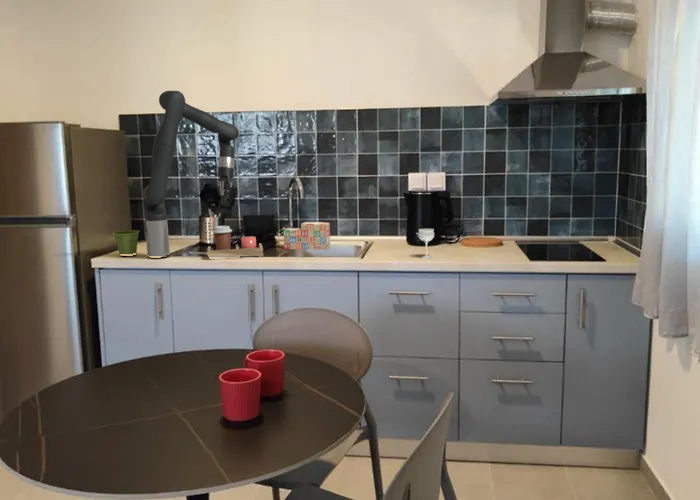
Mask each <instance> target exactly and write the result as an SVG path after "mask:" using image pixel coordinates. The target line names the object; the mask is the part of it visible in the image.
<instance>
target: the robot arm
mask: <svg viewBox="0 0 700 500" xmlns="http://www.w3.org/2000/svg"><path fill="white" fill-rule="evenodd" d="M158 103H159V106H160V107H161V108H162V109H163V110H164V117H163V121H162V124H161V126H160V127H159V129H158V131H157V133H156V135H155V138H154V142H153V146H152V151H151V173H150V178H149V182H148V185H146V186H145V188H143V192H142V197H143V198H142V199H143V207H144V208H143V210H144V211H143V212H144V214H145V215H144V216H145V223H146V224H145V226H146V234H147V235H146V237H145V240H146V251H147V256H148V255H149V256H166V255H170V256H171V253H170V251H171V250H170V237H169V227H168V214H167V209H166V202H165V201H166V197H167V192H168V179H169V174H170V170H171V168H172V165H173V164H172V163H173V159H174V155H175V150H176V144H177V139H178V134H179V128H180V124H181V119H182V118H185V119H187V120H189V121H190V122H192V123H194V124H195V125H198V126H199V127H201V128H203V129H204V130H206V131H208V132H210V133H212V134H217V141H218V146H219V157H218V161H217V162H218V164H217V165H218V166H217V177H218V178H219V182H218V183H219V184H217V185H216V190H217V193H218V195H219V196H221V198H220V199H221V200H220V204H222V205H227V202H228V197H229V195H231V192H232V190H233V187H234V185H235V184H234V182H233V183H232V179H233V178H235V177H234V176H235V153H236V152H235V151H236V150H235V147H234V146H232V144H231V141H234V140H236V139H238V138H239V134H240V132H239V130H238V128H237V127H236V125H234V124H233V123H229V122H227V121H224V120H221V119H219V118H217V117H215V116H214V115H212V114H211V113H208V112H206V111H205V110H201V109H199V108H197V107H195V106H193V105H190V104H188V103H187V102H186V98H185V95H184V94H183V93H182V92H181V91H179V90H166V91H163V92H162V93H161V94H160V95H159V97H158Z"/></svg>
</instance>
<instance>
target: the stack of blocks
mask: <svg viewBox="0 0 700 500" xmlns="http://www.w3.org/2000/svg"><path fill="white" fill-rule="evenodd" d="M330 225H331V224H330V222H322V221H316V222H315V221H314V222H312V221H311V222H308V221H305V222H303V223H301V224H300V228H299V227H298V228H297V227H296V228H295V227H291V228H290V227H287V228H285V229H283V230H282V233H283V234H282V235H283V249H285V250H313V251H314V250H315V251H316V250H317V251H318V250H319V251H321V250H322V251H323V250H325V251H327V250H329V249H330V248H331V228H330V227H331V226H330Z"/></svg>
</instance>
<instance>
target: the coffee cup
mask: <svg viewBox="0 0 700 500" xmlns="http://www.w3.org/2000/svg"><path fill="white" fill-rule="evenodd" d="M211 232H212V234H213V236H214V242H215V247H216V248H215V250H227V249H231V239H232V238H231V237H232V235H231V233H232V232H233V229H231V227H230V225H218V226H217V225H216V226H214V228H213V230H212V231H211Z"/></svg>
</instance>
